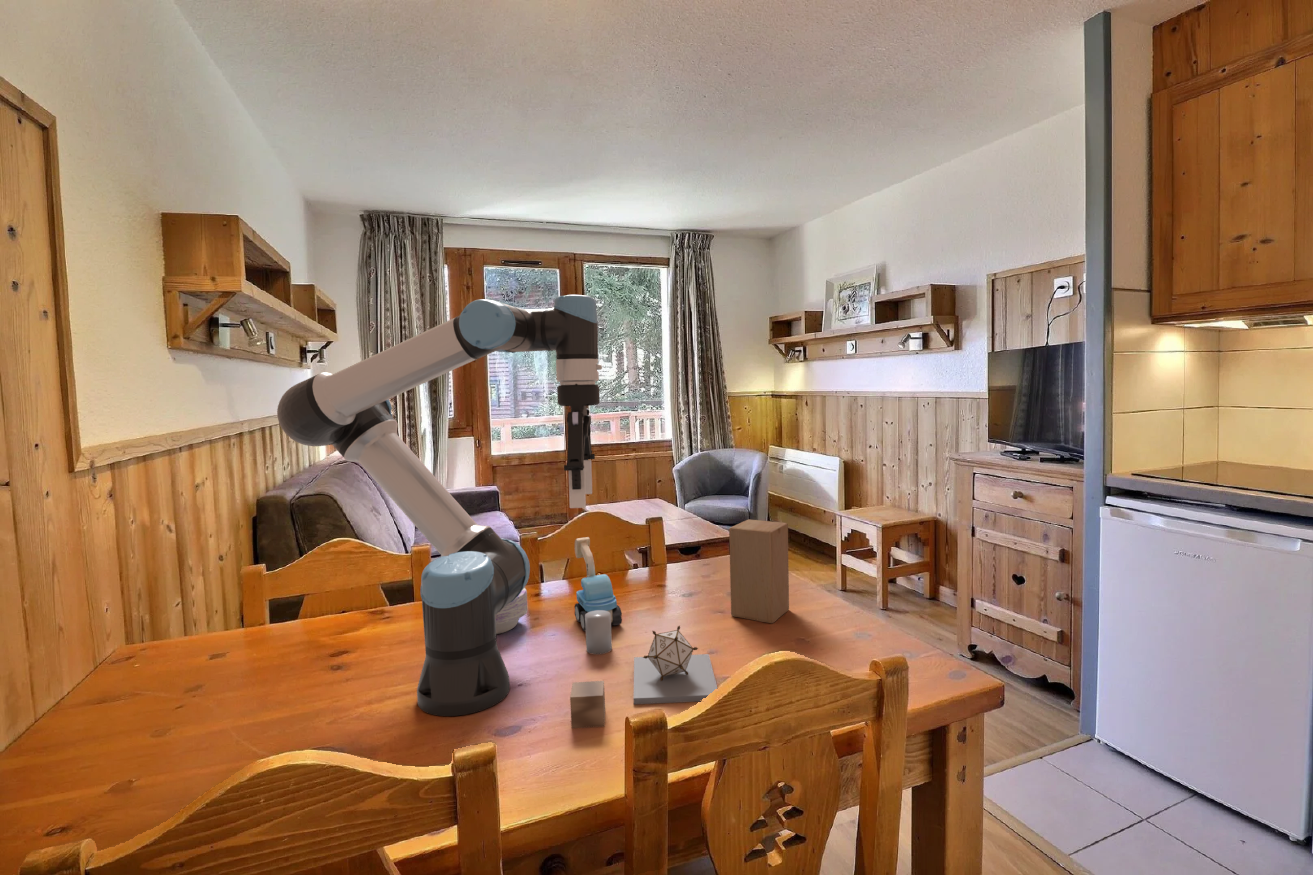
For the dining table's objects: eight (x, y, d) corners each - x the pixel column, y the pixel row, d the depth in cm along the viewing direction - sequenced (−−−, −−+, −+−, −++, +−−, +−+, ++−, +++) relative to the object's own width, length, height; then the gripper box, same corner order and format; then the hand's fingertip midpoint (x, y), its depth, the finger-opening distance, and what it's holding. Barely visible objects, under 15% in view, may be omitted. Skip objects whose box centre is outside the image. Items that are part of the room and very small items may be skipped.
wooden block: (789, 609, 148) (788, 522, 146) (772, 624, 140) (771, 532, 138) (749, 602, 153) (747, 518, 152) (730, 616, 145) (728, 527, 143)
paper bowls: (490, 611, 153) (488, 578, 153) (542, 620, 146) (540, 586, 146) (441, 634, 140) (438, 598, 139) (495, 646, 133) (493, 608, 132)
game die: (680, 698, 114) (694, 667, 108) (634, 680, 115) (646, 649, 108) (692, 655, 121) (706, 624, 115) (648, 639, 122) (660, 607, 115)
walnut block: (571, 728, 100) (570, 697, 100) (574, 712, 105) (572, 682, 105) (604, 726, 100) (603, 695, 100) (605, 710, 105) (603, 680, 105)
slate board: (633, 704, 107) (633, 698, 107) (634, 662, 123) (634, 657, 123) (719, 700, 107) (719, 694, 107) (708, 659, 123) (708, 653, 123)
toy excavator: (603, 604, 156) (600, 533, 154) (624, 628, 140) (621, 549, 139) (567, 609, 153) (564, 537, 151) (585, 634, 137) (582, 554, 136)
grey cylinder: (585, 654, 127) (584, 619, 127) (587, 644, 132) (586, 610, 132) (611, 653, 127) (609, 618, 127) (612, 643, 132) (611, 609, 132)
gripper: (593, 383, 105) (597, 513, 107) (603, 382, 130) (606, 488, 132) (546, 384, 105) (551, 514, 107) (565, 383, 130) (569, 489, 132)
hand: (581, 500), depth 120 cm, fingers open, 13 cm apart
